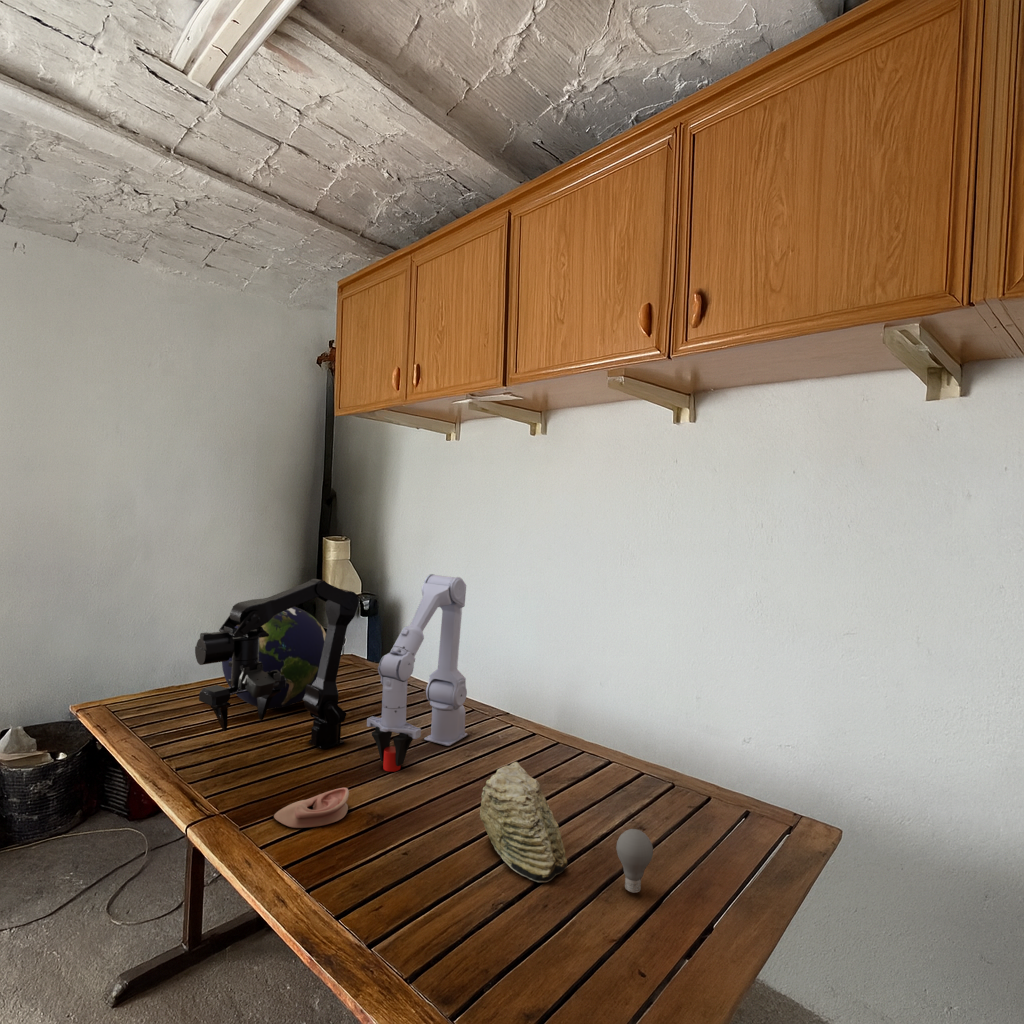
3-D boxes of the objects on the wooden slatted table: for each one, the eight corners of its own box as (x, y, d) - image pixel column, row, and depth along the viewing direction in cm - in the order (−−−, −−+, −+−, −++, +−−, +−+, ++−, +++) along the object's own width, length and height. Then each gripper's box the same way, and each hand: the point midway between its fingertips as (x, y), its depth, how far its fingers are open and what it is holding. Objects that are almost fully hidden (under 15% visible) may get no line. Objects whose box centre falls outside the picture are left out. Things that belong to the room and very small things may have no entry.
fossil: (501, 827, 124) (504, 751, 124) (575, 868, 111) (578, 784, 111) (467, 843, 118) (470, 763, 118) (541, 889, 105) (545, 799, 105)
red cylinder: (399, 772, 147) (399, 753, 147) (381, 771, 147) (382, 752, 147) (401, 764, 151) (402, 746, 151) (384, 764, 151) (385, 745, 151)
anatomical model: (265, 803, 122) (297, 778, 133) (264, 823, 122) (296, 796, 133) (329, 813, 119) (356, 786, 130) (328, 833, 119) (355, 805, 130)
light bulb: (610, 879, 108) (613, 822, 108) (644, 879, 109) (647, 822, 109) (619, 902, 102) (622, 840, 102) (655, 901, 103) (658, 840, 103)
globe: (289, 685, 209) (292, 594, 208) (348, 705, 191) (352, 606, 191) (199, 706, 185) (203, 604, 184) (258, 732, 167) (262, 619, 167)
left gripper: (227, 672, 133) (225, 745, 134) (301, 656, 149) (299, 722, 149) (198, 662, 140) (196, 733, 140) (272, 648, 155) (270, 711, 155)
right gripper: (359, 703, 149) (356, 760, 149) (408, 715, 142) (406, 775, 142) (378, 696, 155) (376, 751, 155) (427, 707, 148) (424, 764, 149)
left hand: (243, 725), depth 146 cm, fingers open, 9 cm apart
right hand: (392, 762), depth 149 cm, fingers closed on red cylinder, 4 cm apart
